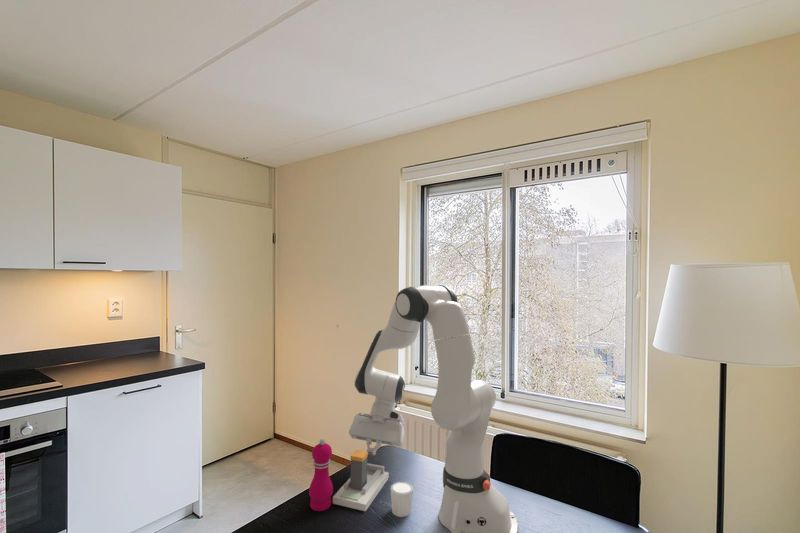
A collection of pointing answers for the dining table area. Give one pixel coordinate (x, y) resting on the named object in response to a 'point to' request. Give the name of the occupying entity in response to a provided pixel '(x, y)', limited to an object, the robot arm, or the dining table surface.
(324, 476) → the pepper mill
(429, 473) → the dining table surface
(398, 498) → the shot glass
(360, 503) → the white slider switch base
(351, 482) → the plate
